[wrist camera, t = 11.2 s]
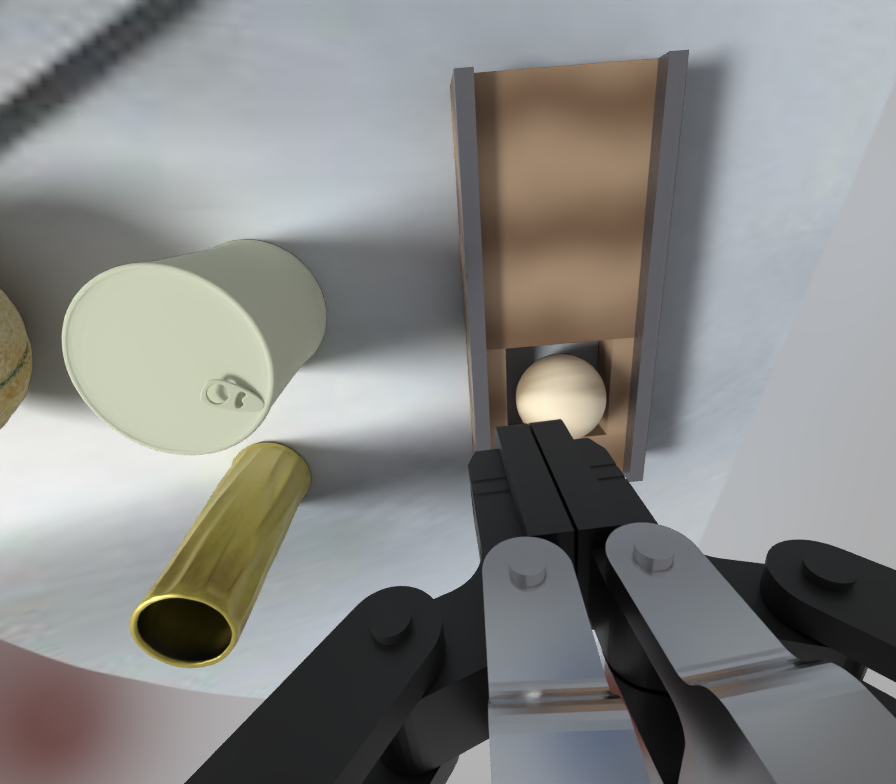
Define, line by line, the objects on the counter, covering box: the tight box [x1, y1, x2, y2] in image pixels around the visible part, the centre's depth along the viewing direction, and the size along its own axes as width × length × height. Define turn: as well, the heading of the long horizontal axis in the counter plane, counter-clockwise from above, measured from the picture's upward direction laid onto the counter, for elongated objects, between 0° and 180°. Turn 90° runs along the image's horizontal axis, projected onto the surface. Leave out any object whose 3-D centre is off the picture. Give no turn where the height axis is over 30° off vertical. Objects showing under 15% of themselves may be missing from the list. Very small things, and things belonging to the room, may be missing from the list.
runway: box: [450, 50, 689, 482], centre depth 30 cm, size 26×12×4 cm, turn 4°
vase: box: [130, 442, 311, 668], centre depth 29 cm, size 6×6×14 cm
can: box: [62, 240, 327, 455], centre depth 25 cm, size 9×9×12 cm
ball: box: [516, 354, 606, 439], centre depth 31 cm, size 6×6×6 cm
